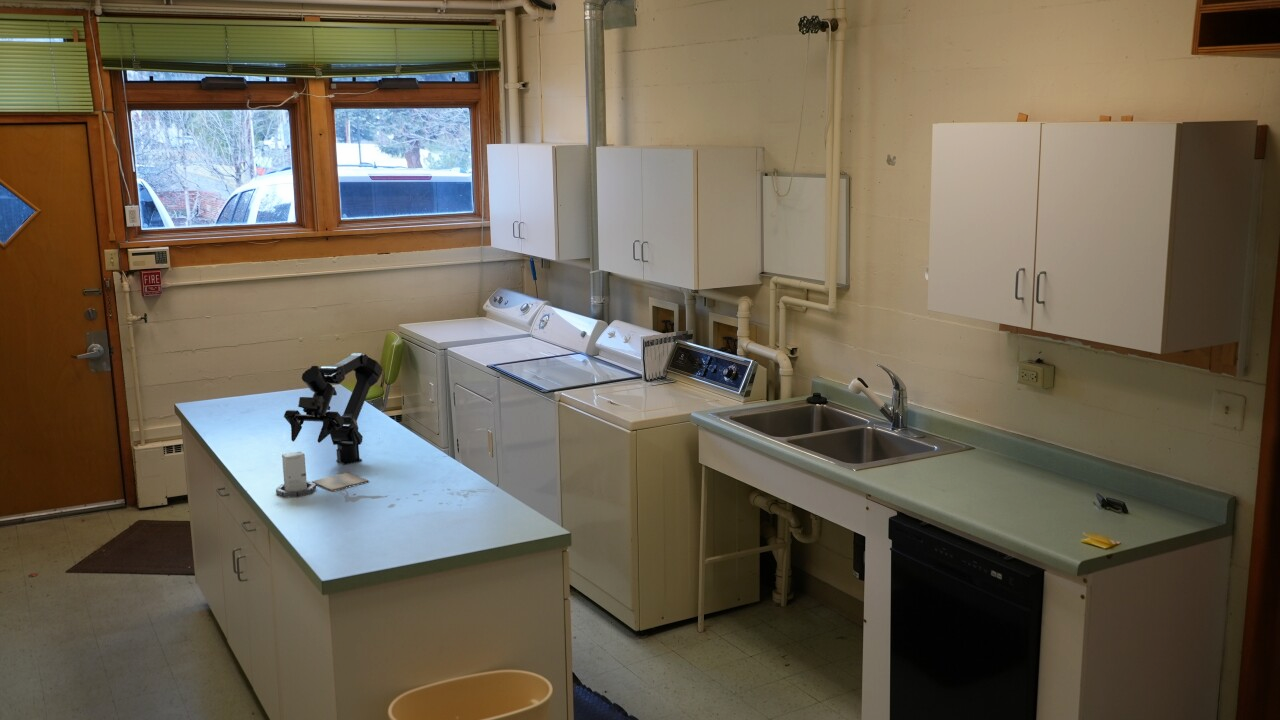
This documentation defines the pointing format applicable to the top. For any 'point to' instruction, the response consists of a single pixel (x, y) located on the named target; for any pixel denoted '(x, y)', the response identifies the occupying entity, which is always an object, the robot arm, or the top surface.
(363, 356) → the robot arm
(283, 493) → the grey octagonal ring
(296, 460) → the skincare box
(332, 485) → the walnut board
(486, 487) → the top surface
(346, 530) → the top surface
